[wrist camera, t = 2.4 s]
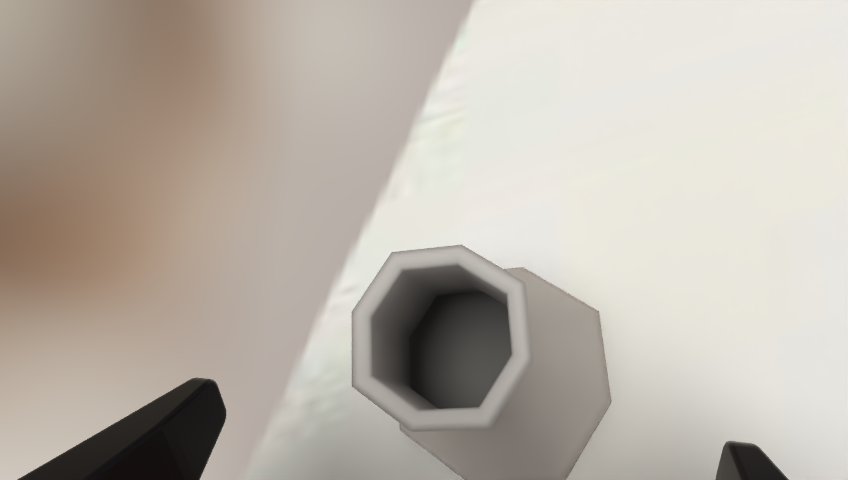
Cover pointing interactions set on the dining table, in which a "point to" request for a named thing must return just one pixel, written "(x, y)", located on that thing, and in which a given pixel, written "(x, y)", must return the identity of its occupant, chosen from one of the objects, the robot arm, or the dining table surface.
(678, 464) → the dining table surface
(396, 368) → the flask
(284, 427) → the dining table surface
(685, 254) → the dining table surface
